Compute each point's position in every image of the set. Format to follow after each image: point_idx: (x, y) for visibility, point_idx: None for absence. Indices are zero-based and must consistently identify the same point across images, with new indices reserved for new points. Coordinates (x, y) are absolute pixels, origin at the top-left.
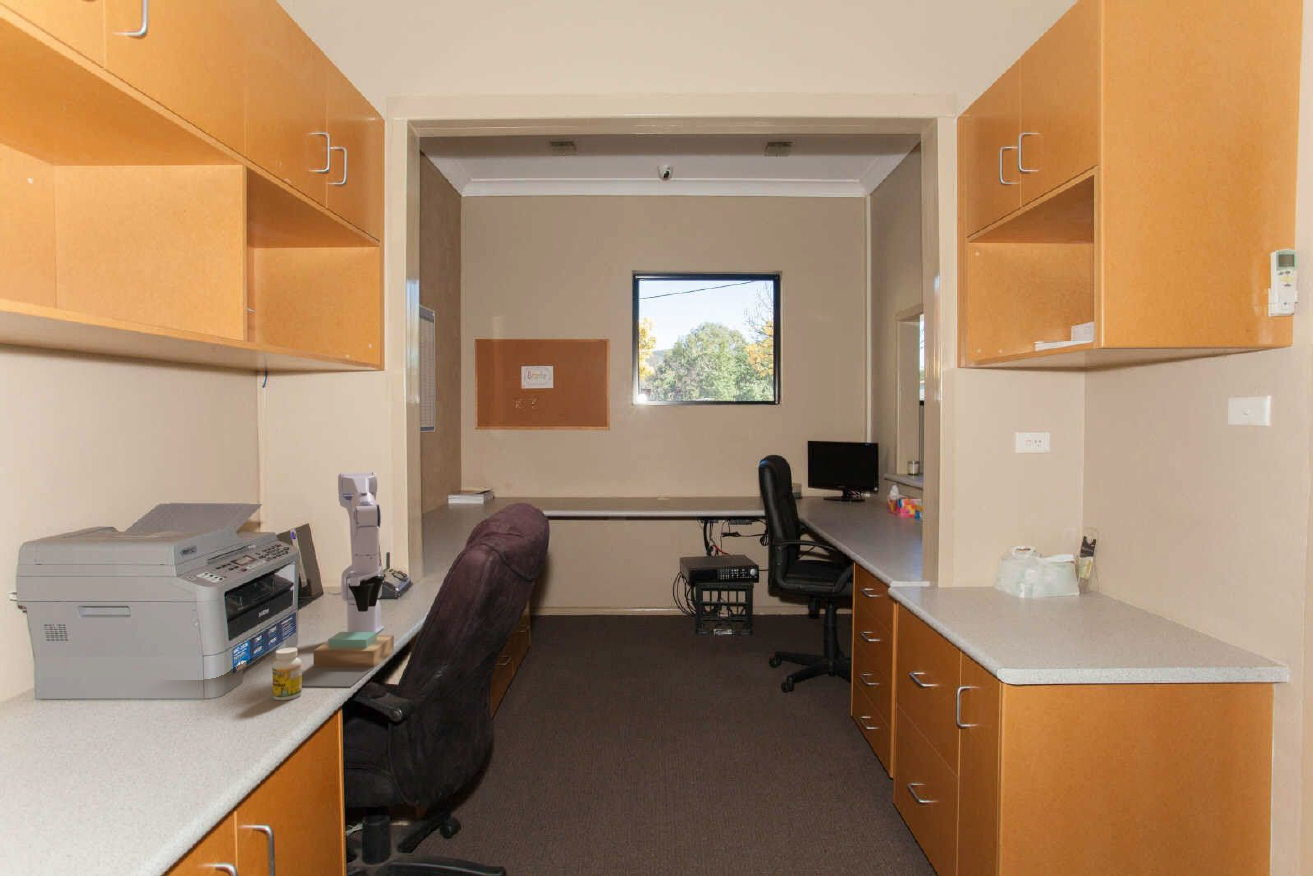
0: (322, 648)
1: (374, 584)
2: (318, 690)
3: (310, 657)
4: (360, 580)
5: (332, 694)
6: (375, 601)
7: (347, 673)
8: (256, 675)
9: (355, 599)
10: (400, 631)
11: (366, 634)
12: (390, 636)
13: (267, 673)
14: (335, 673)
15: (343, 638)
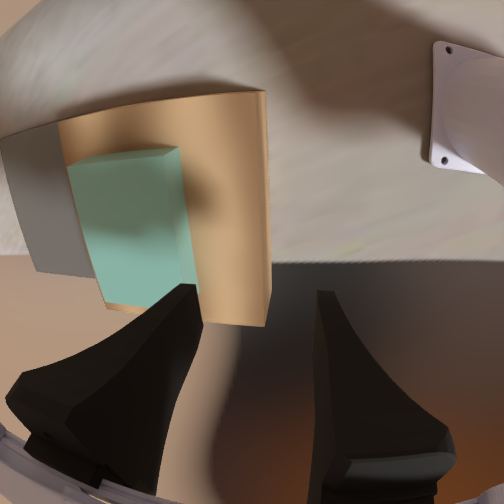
0: (77, 140)
1: (313, 470)
2: (11, 216)
3: (183, 31)
4: (54, 481)
5: (12, 250)
6: (312, 362)
7: (75, 237)
8: (38, 9)
9: (125, 329)
10: (493, 243)
11: (153, 286)
12: (251, 320)
13: (49, 21)
14: (66, 208)
15: (88, 221)
